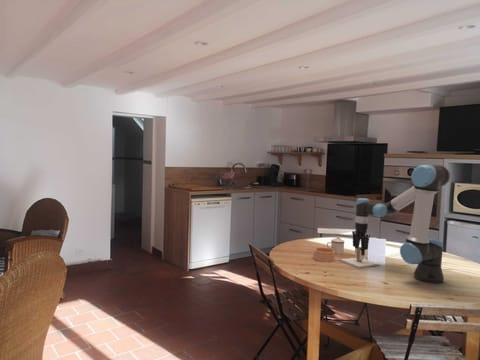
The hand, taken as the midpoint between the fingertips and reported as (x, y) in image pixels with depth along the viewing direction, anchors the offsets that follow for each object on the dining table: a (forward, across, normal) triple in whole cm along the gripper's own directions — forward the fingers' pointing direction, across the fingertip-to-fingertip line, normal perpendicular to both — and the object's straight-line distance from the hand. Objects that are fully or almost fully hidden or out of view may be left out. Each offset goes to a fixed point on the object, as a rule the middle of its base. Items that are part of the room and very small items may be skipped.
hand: (359, 259), depth 232 cm
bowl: (+3, +15, +16) cm, 22 cm away
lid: (+3, 0, 0) cm, 3 cm away
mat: (+3, 0, 0) cm, 3 cm away
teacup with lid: (+3, +27, -4) cm, 27 cm away
